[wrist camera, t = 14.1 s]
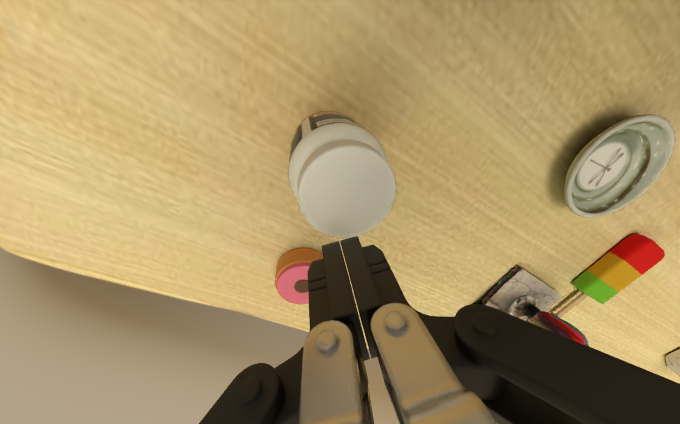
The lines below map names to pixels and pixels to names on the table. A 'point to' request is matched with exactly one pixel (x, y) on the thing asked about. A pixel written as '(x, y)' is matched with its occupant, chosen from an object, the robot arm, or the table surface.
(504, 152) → the table surface
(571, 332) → the statue
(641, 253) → the popsicle
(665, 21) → the table surface
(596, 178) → the saucer
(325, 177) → the pill bottle
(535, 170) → the table surface
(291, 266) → the donut
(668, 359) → the cosmetic box
